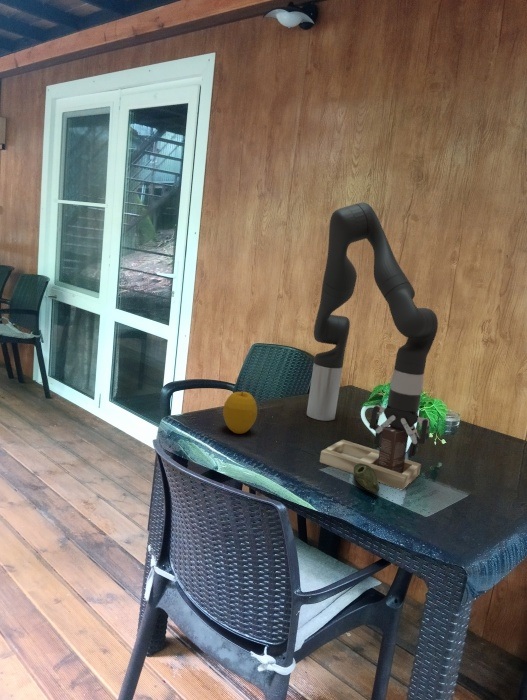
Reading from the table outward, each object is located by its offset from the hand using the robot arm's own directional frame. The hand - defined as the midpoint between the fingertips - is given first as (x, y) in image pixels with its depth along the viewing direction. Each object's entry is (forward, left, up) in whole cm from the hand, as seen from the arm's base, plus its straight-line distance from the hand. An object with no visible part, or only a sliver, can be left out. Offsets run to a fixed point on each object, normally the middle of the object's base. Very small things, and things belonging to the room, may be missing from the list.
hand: (394, 451), depth 142 cm
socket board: (0, -6, -6) cm, 8 cm away
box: (0, 0, -6) cm, 6 cm away
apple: (+5, -44, -6) cm, 44 cm away
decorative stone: (+12, -2, -7) cm, 14 cm away
